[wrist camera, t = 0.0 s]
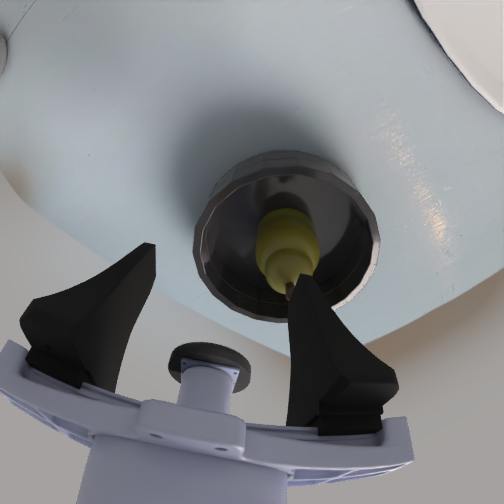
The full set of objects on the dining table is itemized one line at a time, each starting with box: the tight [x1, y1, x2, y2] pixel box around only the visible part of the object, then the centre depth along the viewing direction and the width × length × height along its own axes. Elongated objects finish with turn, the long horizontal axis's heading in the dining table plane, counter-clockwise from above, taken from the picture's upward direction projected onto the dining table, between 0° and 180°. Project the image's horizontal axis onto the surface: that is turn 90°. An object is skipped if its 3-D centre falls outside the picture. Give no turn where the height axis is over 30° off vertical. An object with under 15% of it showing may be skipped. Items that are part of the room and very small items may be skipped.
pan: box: [193, 150, 380, 323], centre depth 21 cm, size 13×13×4 cm
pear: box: [255, 208, 320, 301], centre depth 19 cm, size 5×5×7 cm
